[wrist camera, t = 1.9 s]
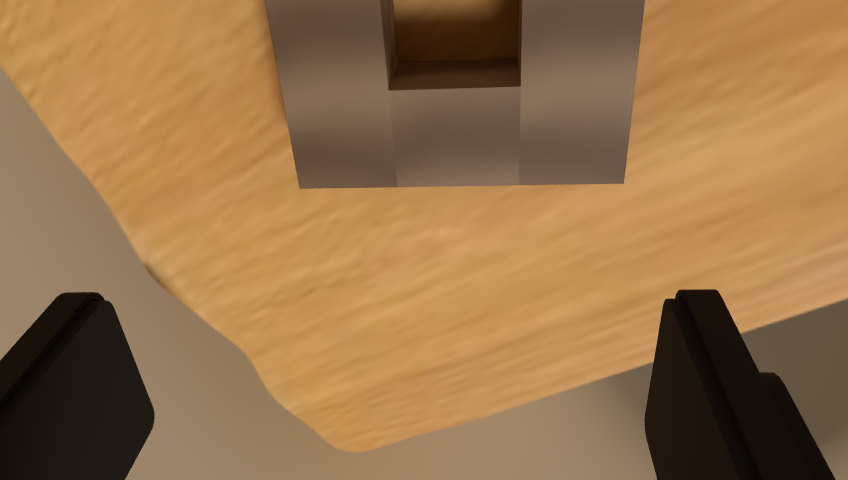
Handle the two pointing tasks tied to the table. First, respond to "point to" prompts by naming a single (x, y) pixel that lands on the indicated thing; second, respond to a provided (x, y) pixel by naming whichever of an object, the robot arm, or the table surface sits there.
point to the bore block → (457, 98)
